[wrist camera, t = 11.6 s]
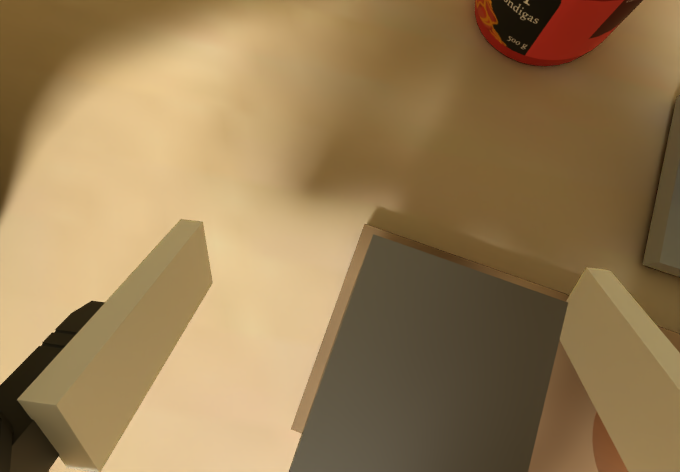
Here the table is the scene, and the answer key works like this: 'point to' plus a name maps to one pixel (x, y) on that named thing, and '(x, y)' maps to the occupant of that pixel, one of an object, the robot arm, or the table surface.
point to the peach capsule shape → (605, 449)
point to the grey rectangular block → (667, 208)
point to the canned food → (549, 27)
